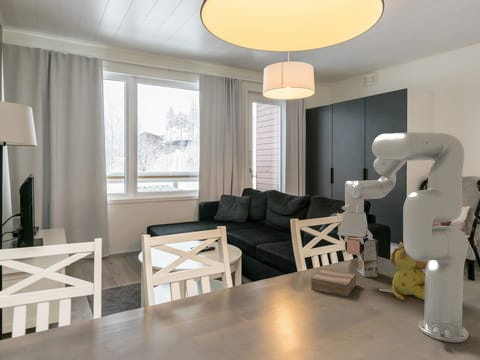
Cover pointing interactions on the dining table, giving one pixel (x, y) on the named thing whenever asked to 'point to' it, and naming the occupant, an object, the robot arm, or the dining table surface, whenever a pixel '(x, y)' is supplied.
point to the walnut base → (333, 282)
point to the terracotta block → (353, 246)
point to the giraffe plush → (407, 275)
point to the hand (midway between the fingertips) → (354, 251)
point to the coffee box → (368, 259)
